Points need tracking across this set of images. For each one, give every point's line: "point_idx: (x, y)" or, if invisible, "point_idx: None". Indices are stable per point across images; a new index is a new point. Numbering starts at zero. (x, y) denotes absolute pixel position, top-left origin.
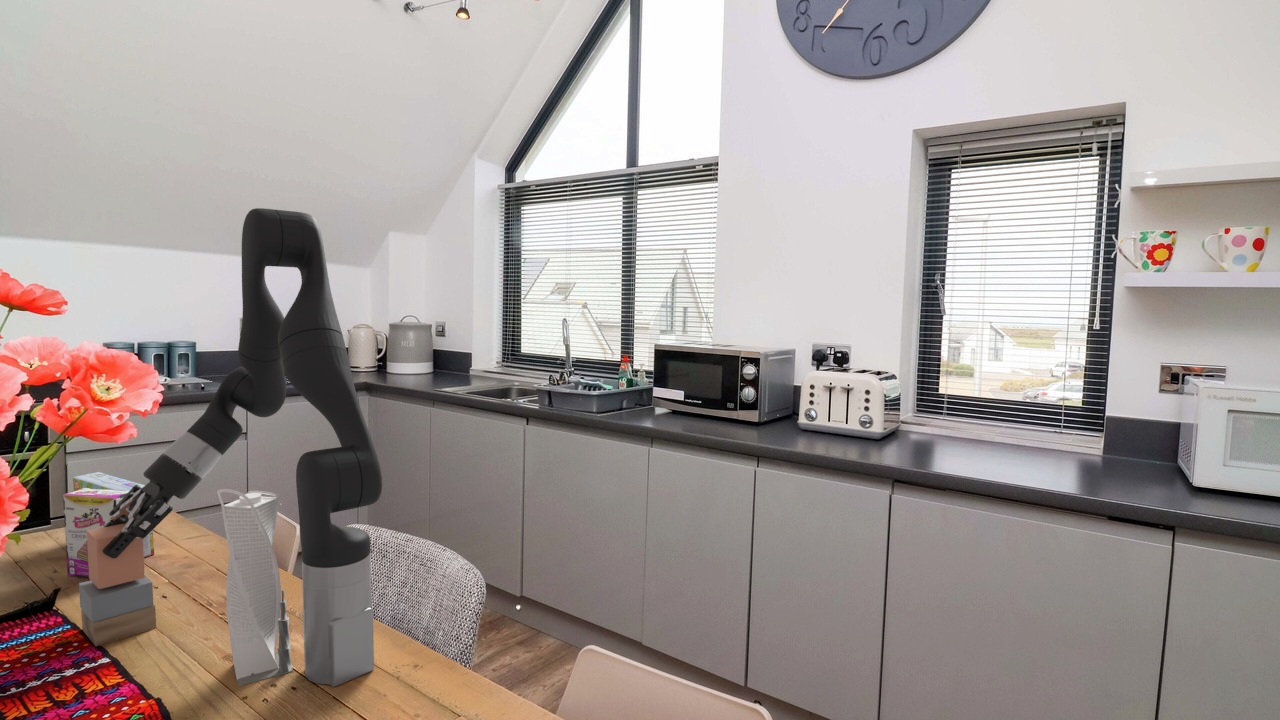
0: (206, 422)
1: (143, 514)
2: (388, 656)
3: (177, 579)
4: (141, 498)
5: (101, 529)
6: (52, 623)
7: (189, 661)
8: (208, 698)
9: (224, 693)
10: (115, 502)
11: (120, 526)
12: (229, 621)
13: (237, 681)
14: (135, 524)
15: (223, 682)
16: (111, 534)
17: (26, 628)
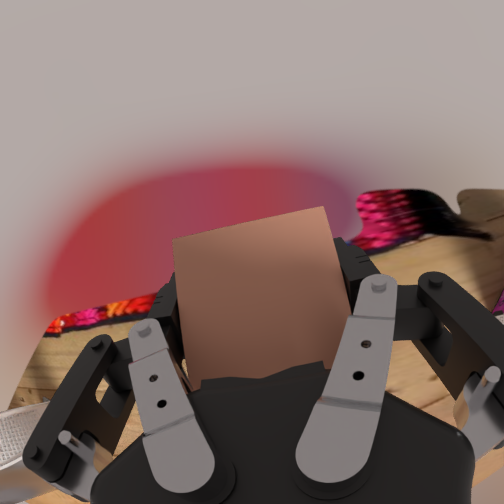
0: None
1: (77, 396)
2: (43, 494)
3: (448, 406)
4: (153, 444)
5: (310, 253)
6: (366, 235)
7: (107, 384)
8: (39, 369)
9: (40, 382)
10: None
11: (313, 323)
12: (18, 408)
13: (50, 400)
14: (86, 357)
15: (54, 390)
16: (207, 287)
17: (365, 206)
